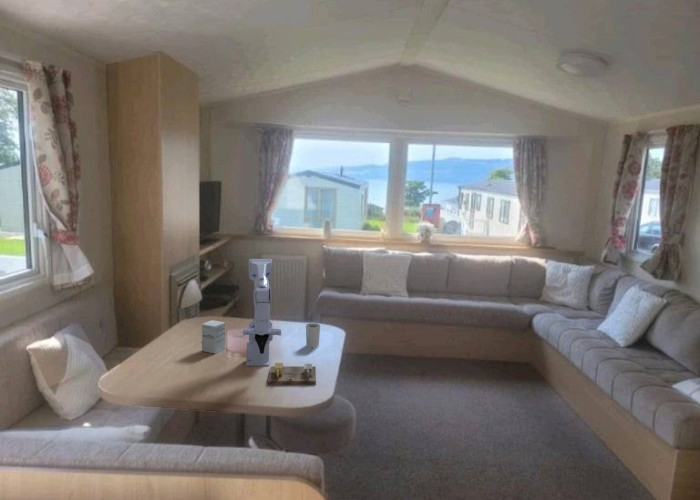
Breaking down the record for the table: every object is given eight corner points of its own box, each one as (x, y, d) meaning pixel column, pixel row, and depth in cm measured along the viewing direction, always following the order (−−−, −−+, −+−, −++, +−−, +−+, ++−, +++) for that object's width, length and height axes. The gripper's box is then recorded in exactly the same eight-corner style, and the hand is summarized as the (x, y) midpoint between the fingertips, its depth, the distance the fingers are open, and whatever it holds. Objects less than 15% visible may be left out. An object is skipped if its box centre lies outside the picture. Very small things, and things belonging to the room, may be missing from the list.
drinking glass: (317, 349, 221) (318, 328, 219) (303, 347, 222) (304, 326, 221) (321, 344, 227) (321, 323, 226) (307, 342, 229) (308, 322, 227)
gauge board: (268, 384, 182) (268, 373, 181) (270, 369, 196) (271, 359, 195) (315, 384, 183) (316, 373, 183) (315, 369, 197) (315, 359, 197)
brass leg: (273, 379, 183) (273, 371, 182) (275, 370, 191) (275, 362, 191) (281, 379, 183) (281, 371, 183) (282, 370, 191) (282, 363, 191)
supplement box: (201, 351, 213) (201, 323, 211) (212, 346, 220) (212, 319, 218) (215, 354, 210) (215, 326, 208) (225, 349, 217) (225, 321, 215)
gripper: (241, 321, 180) (241, 356, 182) (280, 322, 182) (280, 356, 184) (244, 316, 187) (244, 349, 189) (281, 316, 189) (281, 349, 191)
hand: (261, 352), depth 187 cm, fingers closed
